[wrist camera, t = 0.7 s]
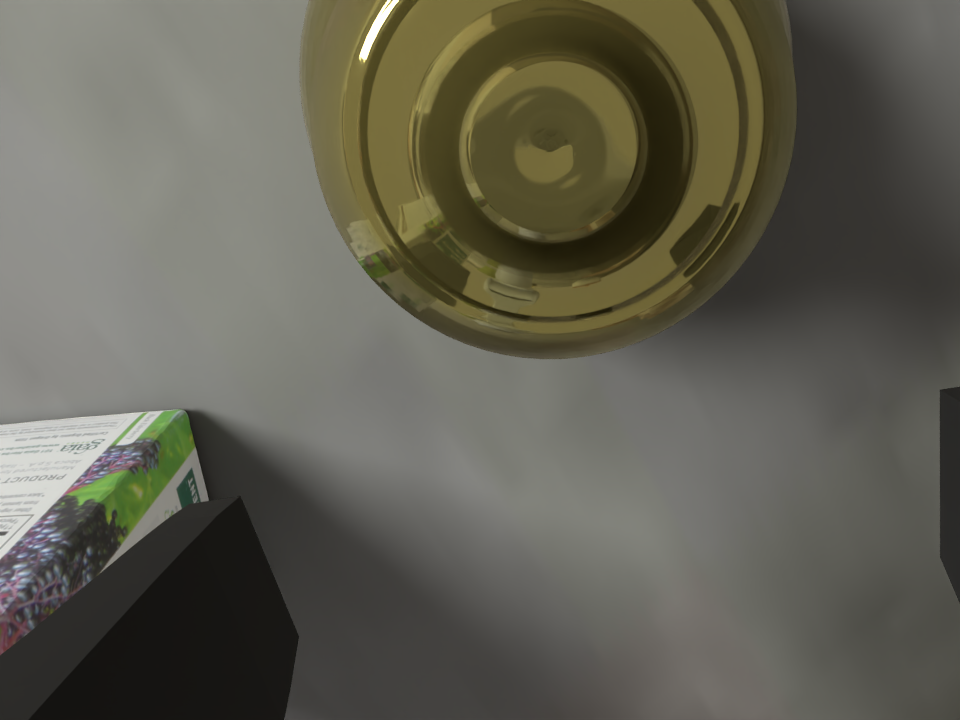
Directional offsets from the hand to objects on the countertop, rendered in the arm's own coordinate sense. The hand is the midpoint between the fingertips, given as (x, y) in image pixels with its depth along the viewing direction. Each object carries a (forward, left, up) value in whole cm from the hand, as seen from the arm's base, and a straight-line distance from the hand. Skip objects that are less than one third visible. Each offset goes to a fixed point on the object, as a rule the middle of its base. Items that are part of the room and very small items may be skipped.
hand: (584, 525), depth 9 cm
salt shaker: (+3, +2, -10) cm, 11 cm away
